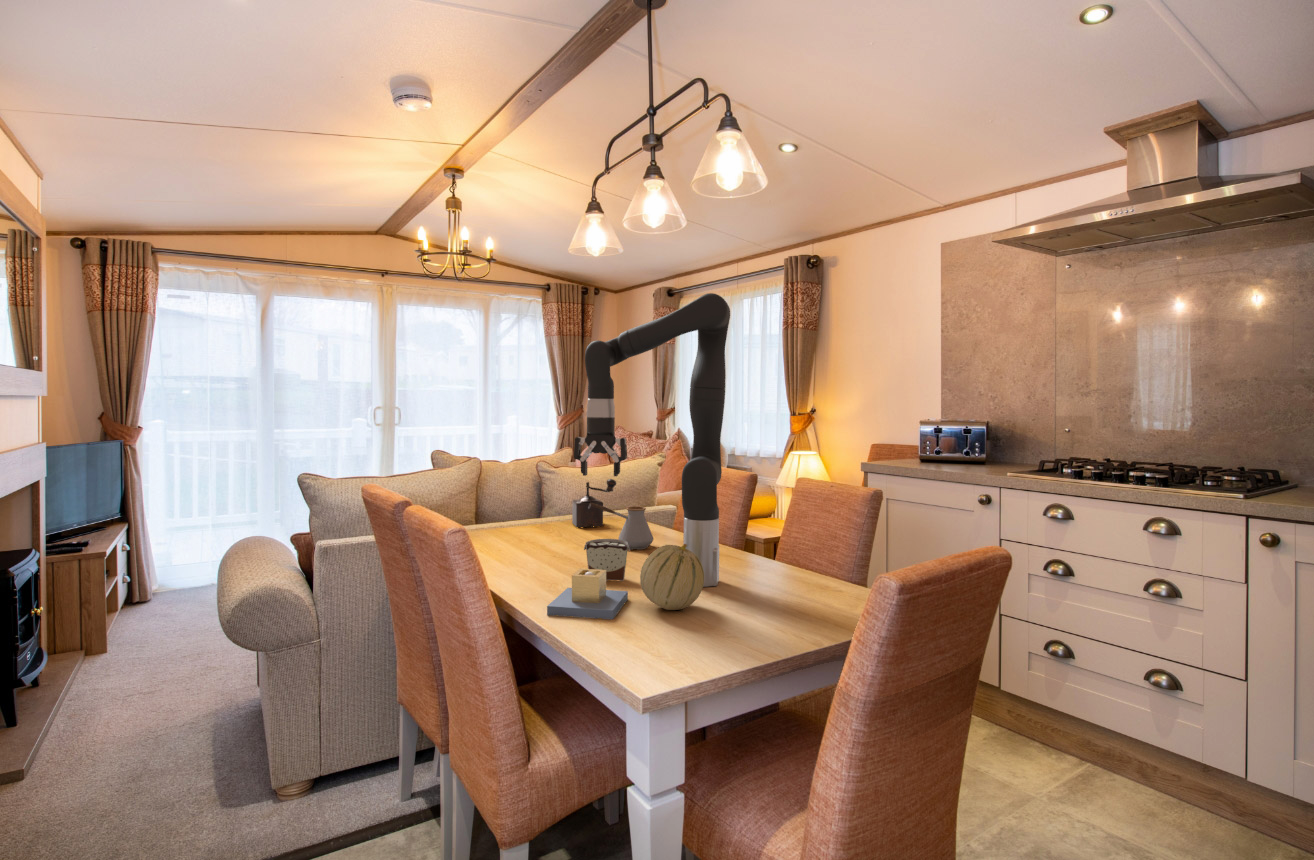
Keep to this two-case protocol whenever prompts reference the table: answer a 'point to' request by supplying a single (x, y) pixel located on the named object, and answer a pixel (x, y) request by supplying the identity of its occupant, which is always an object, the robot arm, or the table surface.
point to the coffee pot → (633, 527)
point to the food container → (608, 557)
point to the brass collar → (588, 586)
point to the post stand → (588, 605)
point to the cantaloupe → (672, 577)
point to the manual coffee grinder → (593, 514)
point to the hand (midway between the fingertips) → (600, 475)
